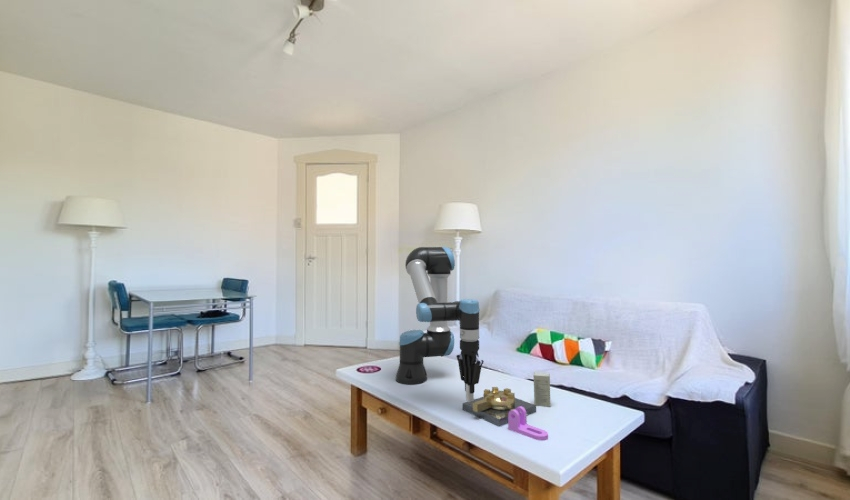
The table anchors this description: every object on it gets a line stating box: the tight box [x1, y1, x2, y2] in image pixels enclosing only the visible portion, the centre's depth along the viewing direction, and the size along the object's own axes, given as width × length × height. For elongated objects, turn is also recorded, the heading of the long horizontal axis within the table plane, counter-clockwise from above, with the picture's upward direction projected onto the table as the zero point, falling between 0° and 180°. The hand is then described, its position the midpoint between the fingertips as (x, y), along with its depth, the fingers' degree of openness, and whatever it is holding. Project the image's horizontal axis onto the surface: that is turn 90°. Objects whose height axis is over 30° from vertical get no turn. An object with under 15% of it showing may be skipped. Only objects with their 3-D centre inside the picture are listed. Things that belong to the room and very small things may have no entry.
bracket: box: [507, 406, 549, 441], centre depth 131 cm, size 13×6×7 cm, turn 44°
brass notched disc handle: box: [473, 386, 516, 412], centre depth 148 cm, size 19×12×4 cm, turn 127°
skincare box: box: [533, 371, 552, 407], centre depth 157 cm, size 6×4×12 cm
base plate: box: [462, 396, 537, 427], centre depth 149 cm, size 22×21×3 cm
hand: (469, 400), depth 150 cm, fingers closed
